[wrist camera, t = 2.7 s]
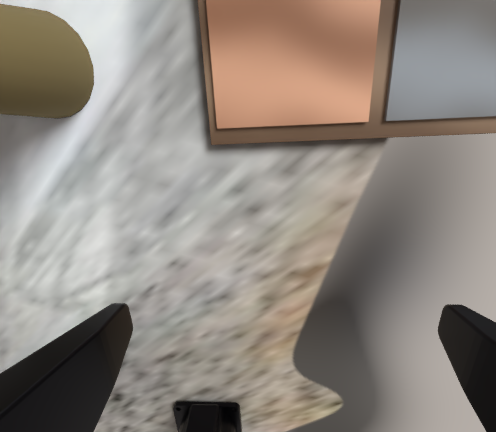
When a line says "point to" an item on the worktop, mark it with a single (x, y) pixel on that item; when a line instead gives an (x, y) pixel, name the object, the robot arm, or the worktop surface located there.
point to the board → (348, 68)
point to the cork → (41, 65)
